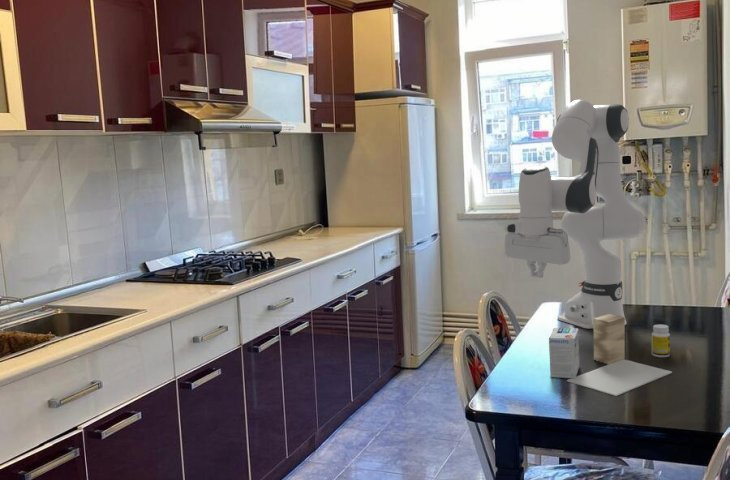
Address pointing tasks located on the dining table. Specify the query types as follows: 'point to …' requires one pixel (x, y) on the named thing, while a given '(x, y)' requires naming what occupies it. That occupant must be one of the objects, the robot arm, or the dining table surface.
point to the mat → (619, 377)
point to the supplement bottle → (660, 341)
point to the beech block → (609, 338)
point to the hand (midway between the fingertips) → (537, 277)
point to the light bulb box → (564, 352)
